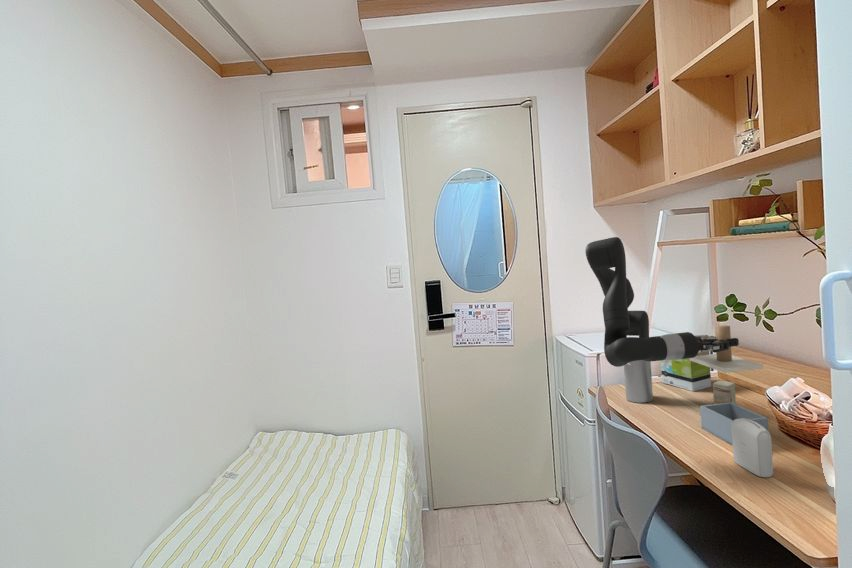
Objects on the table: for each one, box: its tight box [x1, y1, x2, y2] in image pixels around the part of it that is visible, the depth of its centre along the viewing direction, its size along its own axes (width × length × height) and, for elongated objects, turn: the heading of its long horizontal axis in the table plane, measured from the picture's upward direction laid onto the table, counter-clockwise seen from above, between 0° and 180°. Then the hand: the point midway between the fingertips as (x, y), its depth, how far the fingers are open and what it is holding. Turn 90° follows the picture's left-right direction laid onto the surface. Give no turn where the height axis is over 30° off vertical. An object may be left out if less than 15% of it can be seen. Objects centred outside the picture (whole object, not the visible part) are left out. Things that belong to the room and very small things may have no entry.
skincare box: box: [712, 379, 737, 404], centre depth 163 cm, size 5×4×10 cm
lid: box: [690, 324, 764, 374], centre depth 144 cm, size 16×11×11 cm
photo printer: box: [732, 418, 774, 478], centre depth 124 cm, size 10×4×12 cm, turn 3°
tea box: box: [660, 350, 712, 392], centre depth 195 cm, size 15×10×15 cm, turn 21°
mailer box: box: [699, 402, 770, 447], centre depth 145 cm, size 15×10×7 cm, turn 3°
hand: (732, 340), depth 145 cm, fingers closed on lid, 3 cm apart
